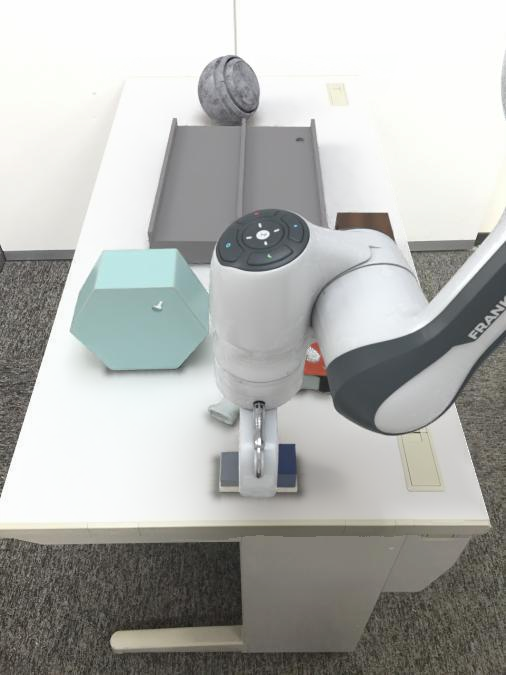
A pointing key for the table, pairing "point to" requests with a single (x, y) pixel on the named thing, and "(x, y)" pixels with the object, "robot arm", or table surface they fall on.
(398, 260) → the robot arm
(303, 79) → the table surface
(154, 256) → the cyan faceted polyhedron
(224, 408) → the tape dispenser
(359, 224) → the brown wooden block
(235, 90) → the decorative orb
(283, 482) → the navy lidded box
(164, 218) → the desk organizer
